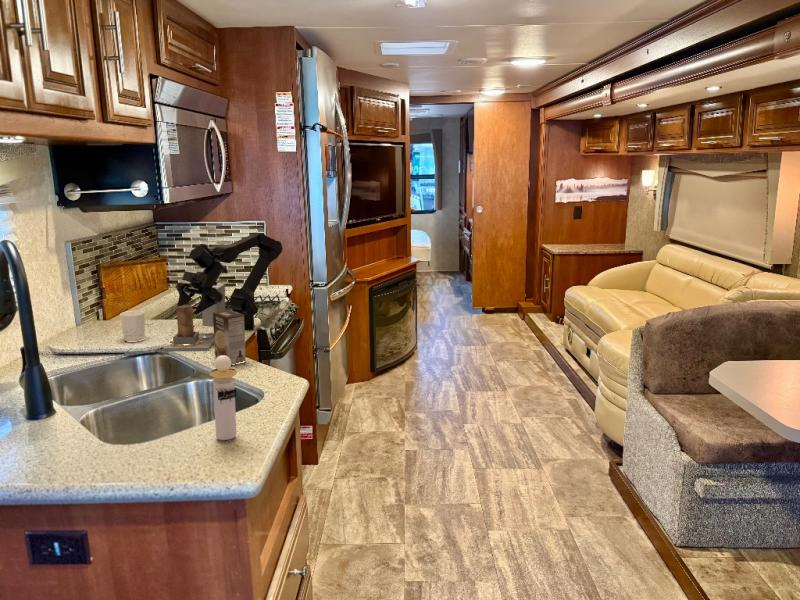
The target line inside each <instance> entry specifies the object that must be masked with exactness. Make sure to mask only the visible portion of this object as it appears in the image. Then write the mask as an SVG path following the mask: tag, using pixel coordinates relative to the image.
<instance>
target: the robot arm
mask: <svg viewBox="0 0 800 600" xmlns="http://www.w3.org/2000/svg"><path fill="white" fill-rule="evenodd" d="M254 247H256V248H258V258H257V260H256V262H255V263H254V266H253V267H252V269H251V271H250V272H249V274H248V276H247V278H246V280H245V281H244V283H243V285H242V286H241V287H240V288H236V287H235V288H234V289H233V292H232V293H231V295H229V297H230V299H229V306H230V309H231V310H233V311H235V312H238V313H241V314H244V327H245V331H254V330H255V328H256V325H255V315H257V314H258V311H259V307H258V306H257V305H256V304H255V303H254V302H255V292H256V290H257V288H258V286H259V285H260V282H261V281H262V279H263V277H264V275H265V274H266V272H267V270H268V268H269V266H270V264H271V263H272V262H274V261H275V260H277V259H278V258H279V256H280V255H281V254H282V252H283V249H284V248H283V245H282V242H281V241H279V240H276V239H273V237H269V236H267V234H264V233H262V232H252V233H251V234H250V235H248V236H245V237H243V238H241V239H239V240H237V241H235V242H232V243H229V244H221V245H217V246H215V247H213V249H211V250H210V248H208V246H207V245H206V244H205V243H200V244H199V245H198V246H196V247H194V248H193V249H191V251H190V252H189V254H188V255H189V258H190V259H191V260H192V261H193V262H194V263H195V264H196V265H197V266H198V267H200V268H201V269H203V270H202V271H199V270H198V271H196V272H194V271H193V272H192V271H187V270H186V271H184V272H183V276H182V279H181V280H182V281H180V282H177V284H176V285H175V289H176V291H177V292H178V301H177V306H176V307H178V306H182V305H187V304H188V303H189V302H191V301H192V300H193V297H194V296H196V295H201V299H200V301H199V303H198V305H197V306H196V308H195V310H194V312H193V314H194V315H195V316H196V315H198V314H200V313H202V311H204V310H205V309H207V308H209V307H211V306H212V305H214V304H217V302H218V303H220V302H221V301H222V299H223V295H222V294H221V293H220V292H219V291H218V290H217V289H216V288H213V285H214V286H216V285H217V284H219V283H218V282H217V281H218V279H219V277H220V276H221V275H222V274H228V273H229V272H228V271H229V270H228V267H227V265H224V264H222V263H225V264H231V263H232V262H234V261H235V260H236V259H238V257H239V255H241V254H243V253H245V252H246V251H249V250H250V249H252V248H254ZM183 281H184V282H183ZM185 281H186V282H185ZM188 282H189V283H188ZM176 311H177V308H176Z"/></svg>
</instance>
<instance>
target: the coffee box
mask: <svg viewBox="0 0 800 600" xmlns="http://www.w3.org/2000/svg"><path fill="white" fill-rule="evenodd" d="M212 327H213V333H214V343H213V345H214V361H215V360H216V358H217V357H218V356H221V355H225V356H228V357H229V358H230V360H231V365H232V364H236V363H239V362H243V361H246V333H245V331H246V330H245V327H244V314H241V313H238V312H235V311H233V310H232V309H231V308H230V309H225V311H219V312H214V313H213V326H212ZM246 362H247V361H246Z"/></svg>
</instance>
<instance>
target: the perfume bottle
mask: <svg viewBox="0 0 800 600" xmlns="http://www.w3.org/2000/svg"><path fill="white" fill-rule="evenodd" d="M213 364H214V368H215V369H212V370H210V372H209V376H210V377H211V378H213V381H212V382H213V383H212V384H213V385H212V386H213V387H212V388H213V403H214V404H213V405H214V421H215V422H214V424H215V425H214V426H215V438H216V439H218V440H221V441H222V440H223V441H224V440H225V441H226V440H231V439H234V438H235V437H236V436H237V419H236V417H237V416H236V397H237V388H235V379H234V378H233V377H235V376H236V375H237V371H238V370H237V369H235V368H233V367H232V366H231V360H230V358H229V357H228V356H225V355H221V356H218V357H217V358H216V360H215V359H214V363H213Z"/></svg>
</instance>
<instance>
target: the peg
mask: <svg viewBox="0 0 800 600" xmlns="http://www.w3.org/2000/svg"><path fill="white" fill-rule="evenodd" d="M176 309H177V310H176V320H177V321H176V322H177V323H176V324H177V333H178V337H193V335H194V332H195V331H194V319H193V318H194V316H193V314H194V312H193V306H192V305H187V304H186V305H182V306H178V307H177V306H176Z"/></svg>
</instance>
